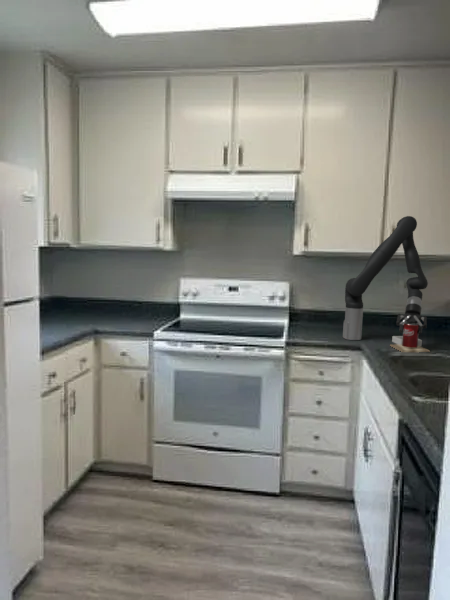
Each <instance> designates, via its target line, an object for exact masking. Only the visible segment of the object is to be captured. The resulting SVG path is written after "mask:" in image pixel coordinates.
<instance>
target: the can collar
mask: <svg viewBox="0 0 450 600" xmlns="http://www.w3.org/2000/svg"><path fill="white" fill-rule="evenodd" d="M391 337H392V340H391V342H392V343H393V344H402V339H403V335H393V336H391ZM422 343H423V340H422V339H420V338H418V346H421V347H423V346H422V345H423V344H422Z"/></svg>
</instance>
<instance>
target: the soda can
mask: <svg viewBox="0 0 450 600" xmlns="http://www.w3.org/2000/svg"><path fill="white" fill-rule="evenodd" d="M402 336H403V339H402V346H403V347H405V348H411V349H415V348H417V347H418V339H419V324H417V323H404V326H403V329H402Z"/></svg>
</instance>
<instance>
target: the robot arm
mask: <svg viewBox="0 0 450 600" xmlns="http://www.w3.org/2000/svg"><path fill="white" fill-rule="evenodd" d="M417 227H418V221H417V219H416V218H415V217H414V216H410V215H406V216H404V217H401V219H399V220H398V221H397V224H396V227H395V228H394V230H393V231H392V233H391V234H389V236H388V237H387V238H385V240H384V241H382V242H381V243H380V244H379V246H378V247H376V248H375V249H374V251H373V252H372V253H371V255H370V256H369V258H368V260H367V263H366V264H365V266H364V268H363V269H362V270H361V272H360V273H359V274H358V275H357V276H356V277H353V278H350V279H348V280H347V281H346V283H345V291H344V292H345V293H344V294H345V295H344V301H345V312H344V320H343V327H342V328H343V329H342V338H343V339H345V340H351V341H359V340H362V337H363V336H362V333H363V330H362V329H363V317H364V302H363V294H364V293H365V292H366V290H367V289H368V287H369V286H370V284H371V282H373V280H374V279H375V278H376V276H377V275H378V274H379V273H380V272H381V271H382V270H383V269H384V267H385V266H386V265H387V264H388V263H389V262H390V260H391V259H392V257H393V256H394V255H395V254H396V253H397V251H398V250H399V248H400V247H401V245H402V250H403V252H404V258H405V259H404V260H405V264H406V270H407V272H408V273H409V274H416V275H417V276H415V277H409V278H408V279H406V283H405V284H406V288H407V289H406V290H407V294H408V295H407V299H406V300H407V301H406V304H405V310H404V314H403V315H402V314H401V313H398V314H397V317H396V326H397V327H398V326H399V327H398V328H399V330H398V331H399V332H400V333H401V334H403V327H404V323H417V324H419V335H421V334H422V333H423V329H427V328H428V327H427V325H428V324H427V323H428V321H427V320H428V317H427V315H425V316H421V315H422V313H421V312H422V306H423V304H422V301H423V292H422V290H425V289H427V287H428V284H429V282H428V279H427V277H426V275H425V273H424V271H423V269H422V266H421V265H422V264H421V259H420V255H419V252H418V250H417V249H418V248H417V247H416V243H415V241H414V232H415V231H416V230H417ZM401 320H402V321H401ZM421 320H422V322H423V324H422V322H421ZM419 335H418V336H419Z"/></svg>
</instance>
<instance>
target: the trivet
mask: <svg viewBox="0 0 450 600" xmlns="http://www.w3.org/2000/svg"><path fill="white" fill-rule="evenodd" d="M390 346H391V347H390ZM389 347H390V348H392V347H393V349H394V348H395V350H396V349H397V350H396V351H398V350H399V351H398V352H400V351H401V353H419V352H430V353H431V351H430V350H429V349H427V348H425V347H423V346H418V347H417V348H415V349H411V348H405V347H403V346H402V344H396V343H393V344H389Z"/></svg>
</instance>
